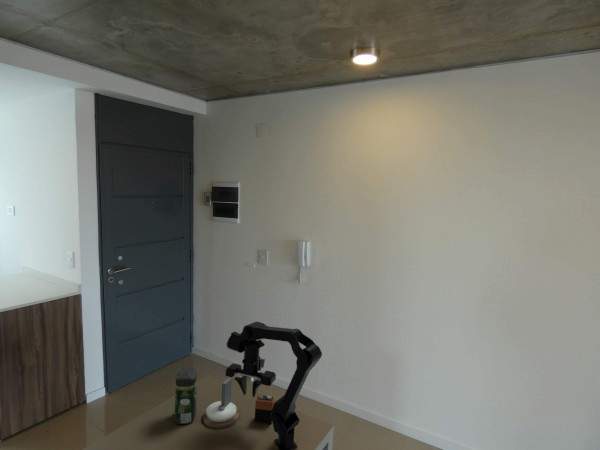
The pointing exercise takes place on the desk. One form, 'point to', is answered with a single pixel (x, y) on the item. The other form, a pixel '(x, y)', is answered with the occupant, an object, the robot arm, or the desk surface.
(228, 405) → the dial
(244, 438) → the desk surface
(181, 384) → the coffee jar
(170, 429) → the desk surface
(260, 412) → the battery
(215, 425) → the dial base
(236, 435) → the desk surface
